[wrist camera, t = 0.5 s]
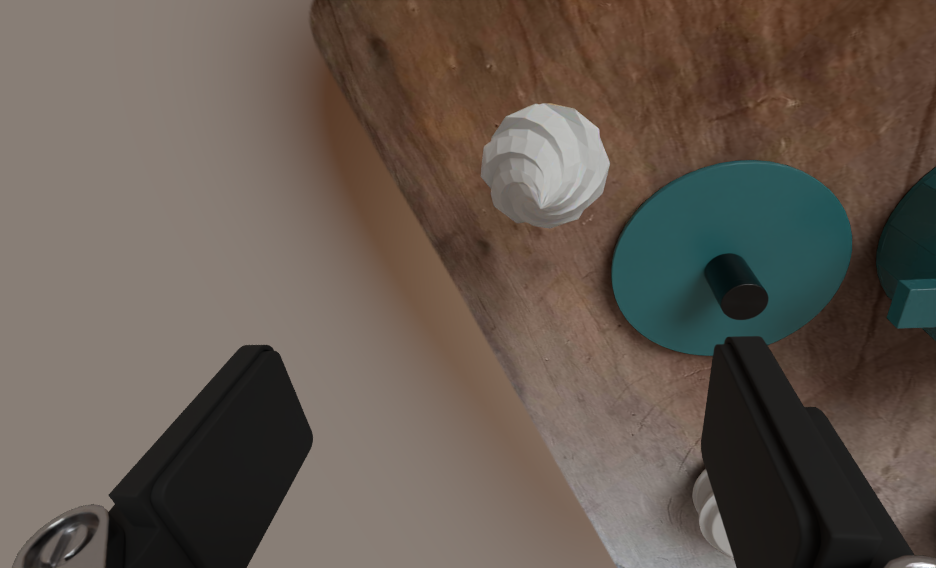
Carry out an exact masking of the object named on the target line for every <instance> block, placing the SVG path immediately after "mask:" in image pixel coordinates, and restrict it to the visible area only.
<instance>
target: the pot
mask: <svg viewBox="0 0 936 568" xmlns="http://www.w3.org/2000/svg"><path fill="white" fill-rule="evenodd" d="M876 267H877V273H878V277H879V280H880V283H881V286H882V287H883V289H884V291H885V292H886V295H887V296H888V297H889V298H890V299H891V300H892V303H891V306H890V309H889V312H888V315H887V319H888V320H889V321H890V322H891V323H892V324H893V325H894V326H895V327H896V328H922V329H923V330H924V331H925V332H926V333H927V334H929V335H930V336H931V337H932V338H933V339H934V340H935V341H936V167H935V168H934V169H933V170H931V171H930V172H929V173H928V174H926V175H925V176H924V177H923V178H922V179H921V180H920V181H919V182H918V183H917V184H916V185H915V186H913V187H912V188H911V190H910V191H909V192H908V193H907V194H906V195H905V196H904V198H903V199H902V200H901V201H900V202H899V204H898V205H897V207H896V208H895V209H894V211H893V212H892V214H891V215H890V217H889V219H888V221H887V223H886V225H885V227H884V229H883V232H882V234H881V237H880V239H879V244H878V248H877V255H876Z"/></svg>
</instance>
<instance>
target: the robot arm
mask: <svg viewBox="0 0 936 568" xmlns="http://www.w3.org/2000/svg"><path fill="white" fill-rule="evenodd" d="M312 442H313V435H312V431H311V429H310V426H309V424H308V422H307V419H306V417H305V415H304V412H303V409H302V407H301V405H300V402H299V400H298V397H297V395H296V392H295V390H294V388H293V385H292V383H291V381H290V378H289V376H288V373H287V371H286V368H285V366H284V363H283V361H282V359H281V356H280V354H279V353H278V352H276V351H274V350H273V348H272V347H271V346H269V345H245V346H242V347H241V348H239V349H238V351H237V352H236V353H235V354H234V355H233V356H232V357H231V358H230V359H229V361H228V362H227V363H226V364H225V365H224V366H223V367H222V368H221V370H220V371H219V372H218V373H217V374H216V375H215V376H214V377H213V378H212V380H211V381H210V382H209V383H208V384H207V385H206V386H205V387H204V389H203V390H202V391H201V392H200V393H199V394H198V395H197V397H196V398H195V399H194V400H193V401H192V402H191V403H190V404H189V405H188V406H187V408H186V409H185V410H184V411H183V412H182V413H181V415H179V417H178V418H177V419H176V420H175V421H174V422H173V423H172V424H171V426H170V427H169V428H168V429H167V430H166V431H165V432H164V433H163V435H162V436H161V437H160V438H159V439H158V440H157V441H156V443H154V445H153V446H152V447H151V448H150V449H149V450H148V451H147V453H146V454H145V455H144V456H143V457H142V458H141V459H140V460H139V461H138V463H137V464H136V465H135V466H134V467H133V468H132V469H131V470H130V472H129V473H128V474H127V475H126V476H125V477H124V478H123V479H122V481H121V482H120V483H119V484H118V485H117V486H116V487H115V488H114V489H113V491H112V492H111V493H110V494H109V497H110V498H111V499H112V500H113V502H114V503H115V505H114V506H113V507H112V509H111V510H110V511H109V512H108V511H107V510H106V509H105V508H104V507H103V506H100V505H94V504H91V505H85V506H80V507H78V508H75V509H72V510H69V511H67V512H65V513H63V514H61V515H60V516H58V517H56V518H54V519H53V520H51V521H50V522H48V523H47V524H46V525H44V526H43V527H42V528H40V529H39V530H38V531H37V532H36V533H35V534H34V535H33V536H32V537H31V538H30V539H29V540H28V541H27V542H26V543H25V544H24V546H23V547H22V548H21V550H20V551H19V552H18V554H17V556H16V559H15V561H14V563H13V566H12V568H247V566H248V564H249V562H250V560H251V559H252V557H253V555H254V553H255V551H256V549H257V547H258V546H259V544H260V542H261V540H262V538H263V536H264V534H265V533H266V530H267V529H268V527H269V525H270V523H271V521H272V519H273V518H274V516H275V514H276V512H277V510H278V508H279V506H280V505H281V503H282V501H283V499H284V497H285V496H286V494H287V492H288V490H289V488H290V486H291V484H292V482H293V481H294V479H295V477H296V475H297V473H298V471H299V469H300V468H301V466H302V464H303V462H304V460H305V458H306V457H307V455H308V453H309V451H310V449H311V447H312ZM701 451H702V458H703V462H704V465H705V468H706V471H707V474H708V478H709V481H710V484H711V487H712V490H713V493H714V497H715V500H716V503H717V506H718V509H719V513H720V516H721V519H722V522H723V525H724V529H725V532H726V535H727V538H728V541H729V545H730V548H731V551H732V554H733V557H734V561H735V564H736V567H737V568H936V558H932V557H928V556H924V555H914V553H913V552H912V550H911V549H910V547H909V546H908V544H907V542H906V541H905V539H904V538H903V536H902V535H901V533H900V531H899V530H898V528H897V527H896V525H895V524H894V522H893V520H892V519H891V517H890V516H889V514H888V513H887V511H886V509H885V508H884V506H883V505H882V503H881V502H880V500H879V498H878V497H877V495H876V494H875V492H874V491H873V489H872V487H871V486H870V484H869V483H868V481H867V480H866V478H865V476H864V475H863V473H862V472H861V470H860V469H859V467H858V465H857V464H856V462H855V461H854V459H853V458H852V456H851V454H850V453H849V451H848V450H847V448H846V447H845V445H844V443H843V442H842V440H841V439H840V437H839V436H838V434H837V433H836V431H835V429H834V428H833V426H832V425H831V423H830V422H829V420H828V418H827V417H826V416H825V415H824V413H823V412H822V411H821V410H819V409H818V408H816V407H804V406H803V404H802V403H801V401H800V399H799V398H798V396H797V394H796V393H795V391H794V389H793V388H792V386H791V384H790V383H789V381H788V379H787V378H786V376H785V374H784V372H783V371H782V369H781V367H780V366H779V364H778V362H777V361H776V359H775V357H774V356H773V354H772V352H771V351H770V349H769V347H768V346H767V344H766V342H765V341H764V339H763V338H762V337H760V336H738V337H727V338H726V339H725V342H724V344H717V345H715V347H714V352H713V359H712V367H711V374H710V381H709V388H708V396H707V403H706V410H705V417H704V425H703V432H702V439H701Z"/></svg>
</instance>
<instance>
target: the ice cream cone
mask: <svg viewBox="0 0 936 568" xmlns="http://www.w3.org/2000/svg"><path fill="white" fill-rule="evenodd" d="M609 166H610V162H609V159H608V157H607V154H606V152H605V149H604V147H603V144H602V142H601V139H600V134H599V129H598V128H597V127H596V126H595V125H593V124H592V123H591V122H590V121H589V120H587V119H586V118H585V117H584V116H583V115H581V114H580V113H579V112H578V111H576V110H575V109H574V108H569V107H564V106H560V105H556V104H551V103H549V104H544V103H543V104H540V105H538V104H534V105H531V106H529V107H527V108H525V109H522V110H520V111H518V112H516V113H513V114H511V115H509V116H507V117H505V118H504V120H503V121H502V123H501V125H500V126H499V128H498V129H497V131H496V132H495V134H494V135H493V137H492V139H491V142H490V143H488V144H487V145H485V146H484V150H483V160H482V169H481V177H482V178H483V180H484V181H485V182H486V183H487V184H488V186H489V187H490V188H491V197H492V200H493V204H494V207H496V208H497V209H498V210H500V211H501V212H502V213H504V214H505V215H506V216H508V217H509V218H511V219H512V220H513V221H515V222H516V223H523V222H527V223H529V224H531V225H533V226H538V227H544V228H553V227H556V226H559V225H561V224H564V223H567V222H570V221H573V220H576V219H579V217H580V215H581V214H582V212H583V210H584V209H585V208H587V207H588V206H589V205H590V204H592V203H593V202H594V201H595V200H596V199H597V198H598V197H599V196H600V195H601V194H603V190H604V186H605V182H606V178H607V174H608V170H609Z"/></svg>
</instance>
